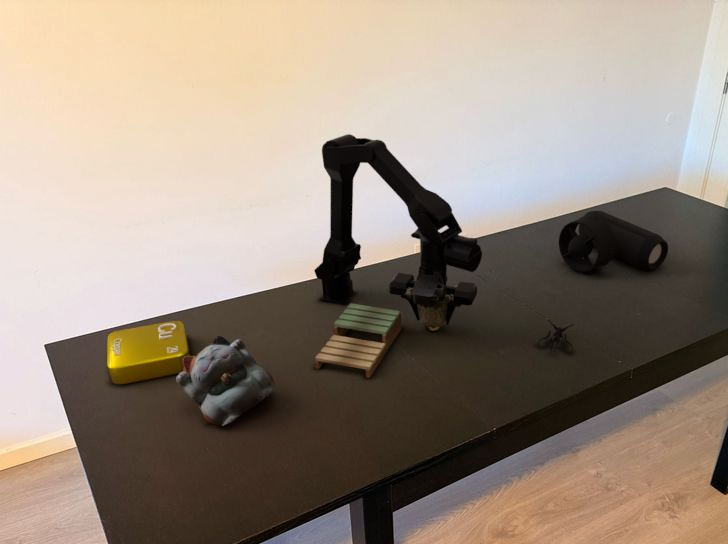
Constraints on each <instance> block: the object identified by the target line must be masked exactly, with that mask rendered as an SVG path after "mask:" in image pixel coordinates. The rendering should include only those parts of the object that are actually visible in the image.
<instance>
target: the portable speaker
mask: <svg viewBox="0 0 728 544" xmlns="http://www.w3.org/2000/svg"><path fill="white" fill-rule="evenodd" d="M590 214H592V215H597V216H599V217H601V218H603V219H604V220H605V221H606V222H607V223H608V224H609V225H610V227H611V228H612V230H613V232H614V235H615V240H616V249H615V253H614V256H613V257H616V258H618V259H619V260H622V261H624V262H626V263H628V264H630V265H632V266H634V267H637V268H638V269H641V270H644V271H645V270H646V271H647V270H651V271H652V270H653V271H655V270H656V269H659V268H660V267H661V265H663V263H664V261H665V260H666V259H667V256H668V252H669V243H668V242H667V240H665V239H664V238H663V237H662V235H660V234H658V233H656V232H653V231H651V230H648V229H646V228H644V227H641V226H639V225H637V224H634V223H632V222H629V221H627V220H624V219H622V218H619V217H617V216H616V215H612V214H611V213H607V212H605V211H602V210H590V211H588V212H586V213H585V214H584V215H583V216H585V215H590ZM580 234H586V235H587V236H589V237H590V238H591V237H593V236H594V235H593V233H592V232H591V231H590V230H589V229H588V228H587V227H585V226H584V225H581V224H579V225H578V235H580ZM592 243H593V248H596V249H598V246H597V242H596V239H593V240H592Z"/></svg>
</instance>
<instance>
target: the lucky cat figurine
mask: <svg viewBox="0 0 728 544" xmlns="http://www.w3.org/2000/svg"><path fill="white" fill-rule="evenodd" d="M175 380H176V383H177V384H178V386H180V387H181V388H182V389H183V391H184V392H185V394H186V395H188V396H189V397H190V399H191V400H192V401H193V402H194V403H195V405H197V407H198V408H199V409H200V411H201V413H202V416H203V418H204V419H205V420H206V422H207V423H209V424H211V425H217V426H220V427H224V426H226V425H228V424H230V423H232V422H234V421H235V420H236V419H237V418H239V417H240V416H241V415H242V414H244V413H245V412H247V411H248V410H249V409H251V408H253V407H254V406H256V405H258V404H259V403H260V402H262V401H263V400H265V399H266V397H268V396H269V395H270V394H271V393H272V392H273V391H274V389H275V381H274V378H273V376H272V374H271V373H270V372H269V370H268V369H266V368H264V367H261V366H260V365H258V363H257V361H256V359H255V357H254V356H253V355H252V353H251V352H250V351H249V349H248V348H247V346H246V344H245V342H244V341H243V339H235V340H234V341H233V342H232V343H231V342H230V341H229V340H228V339H226V338H225V337H224V336H221V335H217V336H215V338H214V340H212V342H211V344H210V345H207V346H205V347H204V348H203V349H202V350H201V351H199V352H198V353H197V354H196V355H190V356H186V357H184V358H183V365H182V370H181V371H180V373H178V375H177V376H176V378H175Z"/></svg>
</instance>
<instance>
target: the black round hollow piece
mask: <svg viewBox="0 0 728 544" xmlns="http://www.w3.org/2000/svg"><path fill="white" fill-rule="evenodd" d="M584 215H585V214H584ZM584 215H583V216H581V217H579V218H578V219H575V220H573V221H570V222H568V223H567V224H566V225H564V226H563V228H561V231H560V232H559V237H558V249H559V253H560V255H561V258H562V259H563V261H564V263H565V264H566V265H567V266H568V267H569V268H571V269H572V271H574V272H576V273H578V274H586V273H589V272H591V271H592V270H594V269H598V268H601V267H602V268H603V267H605V266H607V265H608V264H609V263H610V262H611V261H612V259H613V258H614V257H615V256H614V253H615V249H616V240H615V235H614V232H613V230H612V228H611V227H610V225H609V224H608V223H607V222H606V221H605V220H604V219H603V218H601V217H599V216H597V215H592V214H590V215H585V216H584ZM579 224H581V225H584V226H585V227H587V228H588V229H589V230H590V231H591V232H592V233H593V235H594V236H593V237H591V238H590V237H589V236H587V235H586V234H578V233H577V232H576V230H577V228H578V227H579ZM593 239H596V242H597V246H598V248H597V255H596V256H597V257H596V259H595V262H594V263H593V262H592V261H591V259H590V255H591V254H592V253H593V249H594V246H593V243H592V240H593Z"/></svg>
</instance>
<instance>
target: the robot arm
mask: <svg viewBox="0 0 728 544" xmlns="http://www.w3.org/2000/svg"><path fill="white" fill-rule="evenodd" d="M321 156H322V163H323V168H324V170H325V171H326V173H327V174H328V176H329V178H330V179H329V180H330V187H329V188H330V192H329V193H330V194H329V195H330V203H329V205H330V206H329V208H330V210H329V212H330V213H329V214H330V215H329V217H330V222H329V223H330V225H329V226H330V230H329V231H330V232H329V235H330V236H329V238H328V241H327V243H326V245H325V246H324V249H323V254H322V262H321V263H320V264H319V265H318V266H317V267H316V268H315V269H314V274H315V276H316V279H318V280H321V287H322V296H320V301H322V302H328V303H333V304H334V303H335V304H341V305H345V304H346V303H347V302H348V301H349V300H350V298H351V297H352V296H353V295H354V294H355V290H354V287H353V286H354V284H353V283H354V282H353V279H351V273H350V272H353V271H354V270H355V269H356V268H355V267H356V265H358V264H359V261H360V260H361V259H362V256H361V249H362V246H361V244H360V243H357V242H356V241H355V239H354V238H353V206H354V205H353V204H354V203H353V202H354V178H355V176H356V174H357V172H358V170H359V168H360V166H361V164H368V165H369V166H370V167H371V168H372V169H373V170H374V171H375V172H376V173H377V174H378V176H379V177H380V178H381V179H382V180H383V181H384V182H385V183H386V185H388V186H389V188H390V189H391V190H393V192H394V193H395V194H396V195H397V196H398V197H399V198H400V200H401V201H402V202H403V203H404V204H405V206H406V208H407V211H408V215H409V217H410V219H411V220H412V221H413V223H414V225H415V226H416V228H417V229H416V230H415V231H414V232H412V233H411V234H410V237H411V238H414V239H417V240H419V244H420V245H419V267H418V274H417V277H416V280H415V276H414V274H412V273H411V274H410V273H405V272H397V274H395V276H394V277H393V278H392V280H391V281H390V283H389V286H388V287H389V288H388V289H389V294H390V295H395V296H400V298H401V299H403V300H405V301H407V302H408V303H409V305H410V307H411V309H412V312H413V314H414V316H415V318H416V320H417V321H421V320H420V318H419V314H418V307H417V305H419V304H421V305H427V306H434V305H435V304H436V302H439V301H440V300H441V301H444V299H445V296H449V301H448V303H447V306H448V310H447V317H446V321H445V325H446V326H449V324H450V322H451V320H452V317H453V315H454V312H455V309H456V307H457V308H459V307H462V306H472V305H473V303H474V301H475V299H476V297H477V296H478V286H477V285H476V283H473V282H466V281H459V283H458V284H457V285H454V286H452V285H447V282H448V276H447V274H448V273H447V272H448V271H447V270H448V266H450V267H452V268H456V269H460V270H463V271H467V272H470V273H473V272H475V271H476V270H477V269H478V268H479V266H480V264H481V261H482V259H483V258H482V257H483V251H482V248H481V246H480V244H478V239H477V238H475V237H474V238H473V237H467V236H463V235H460V234H461V233H462V232H463V230H462V228H461V226H460V224H459V223H458V221H457V218H456V217H455V215H454V213H453V209H452V208H453V207H452V206H451V205H450V203H449V202H448V201H446V200H445V199H444V198H443V197H442V196H440V195H438V193H437V192H434V191H432V190H428V189H427V188H425V187H424V186H422V184H420V182H419V181H418V180H417V179H416V178H415V177H414V176H413V174H411V173H410V171H408V170H407V168H406V167H405V166H404V164H402V163H401V162H400V161H399V160H398V158H397V157H396V156H395V155H394V154H393V153H392V152H391V151H390V150H389V149H388V147H387V145H386V143H385V141H383V140H381V139H371V138H367V137H356V136H354V135H353V134H350V133H347V134H344V135H342V136H338V137H335V138H333V139H330V140H327V141H326V142H325V143H323V145H322V147H321ZM444 227H447V228H446V229H444V230H443V231H441V232H440V230H442V229H443V228H444Z"/></svg>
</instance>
